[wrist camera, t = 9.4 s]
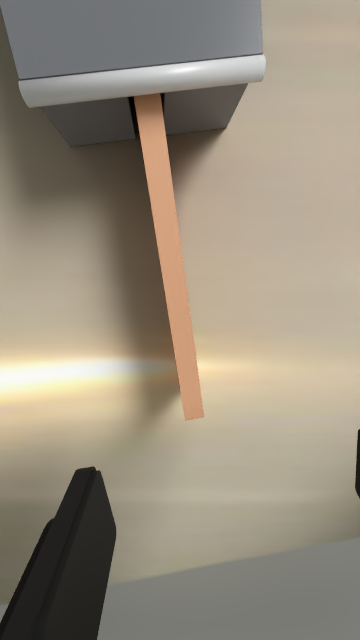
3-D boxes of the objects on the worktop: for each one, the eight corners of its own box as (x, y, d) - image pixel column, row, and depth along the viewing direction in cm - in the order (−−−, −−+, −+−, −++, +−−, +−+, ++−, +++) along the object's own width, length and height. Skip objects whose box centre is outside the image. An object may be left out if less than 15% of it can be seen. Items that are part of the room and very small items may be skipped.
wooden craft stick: (154, 99, 14) (153, 40, 10) (195, 386, 19) (203, 417, 15) (134, 101, 14) (125, 43, 10) (180, 389, 18) (185, 420, 15)
